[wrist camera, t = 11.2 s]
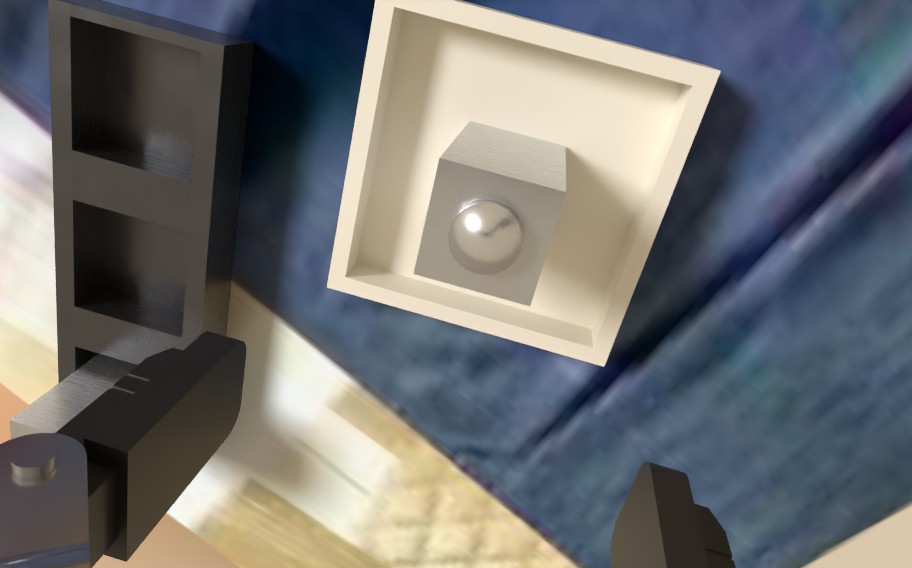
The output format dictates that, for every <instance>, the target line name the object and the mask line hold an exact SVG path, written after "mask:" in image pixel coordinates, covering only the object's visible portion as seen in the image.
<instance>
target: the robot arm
mask: <svg viewBox="0 0 912 568" xmlns="http://www.w3.org/2000/svg"><path fill="white" fill-rule="evenodd" d="M245 359H246V345H245V343H244V342H243V341H240V340H236V339H233V338H230V337H226V336H223V335H219V334H216V333H213V332H209V331H206V332H204V333H203V334H201V335H200V336H199V337H198V338H197V339H196V340H194V341H193V342H192V343H191V344H190V345H189V346H188V347H187V348H185V349H184V350H179V349H176V348H173V347H172V348H170V349H167V350H165V351H162V352H160V353H157V354H155V355H152V356H149V357H147V358H146V359H144V360H143V361H142V362H141V363H139V364H138V365H137V366H136V367H135V368H133V369H132V370H131V371H130V372H129V373H128V375H127V376H124V377H122V378H121V379H120V380H119V381H118V382H116V383H115V384H114V385H113V387H112V389H110V388H109V389H108V390H107V391H105V392H104V393H103V394H102V395H101V396H99V397H98V398H97V399H96V400H94V401H93V402H92V403H91V404H90V405H88V406H87V407H86V408H85V409H83V410H82V411H81V412H80V413H79V414H77V415H76V416H75V417H74V418H73V419H71V420H70V421H69V422H68V423H66V424H65V425H64V426H63V427H62V428H60V429H59V430H58V431H57V432H56V433H35V434H29V435H24V436H20V437H17V438H14V439H11V440H9V441H6V442H4V443H2V444H0V568H92V567H93V566H94V565H95V563H96V562H97V561H98V560H99V559H100V558H101V557H102V555H103V554H104V555H107V556H110V557H113V558H116V559H120V560H123V561H127V560H128V559H129V558H130V557H131V556H132V554H133V553H134V552H135V551H136V549H137V548H138V547H139V546H140V544H141V543H142V542H143V541H144V540H145V538H146V537H147V536H148V534H149V533H150V532H151V531H152V530H153V528H154V527H155V526H156V525H157V523H158V522H159V521H160V520H161V518H162V517H163V516H164V515H165V513H166V512H167V511H168V510H169V509H170V507H171V506H172V505H173V504H174V502H175V501H176V500H177V499H178V497H179V496H180V495H181V494H182V492H183V491H184V490H185V489H186V487H187V486H188V485H189V484H190V482H191V481H192V480H193V479H194V478H195V476H196V475H197V474H198V473H199V471H200V470H201V469H202V468H203V466H204V465H205V464H206V463H207V461H208V460H209V459H210V458H211V456H212V455H213V454H214V453H215V452H216V450H217V449H218V448H219V447H220V445H221V444H222V443H223V442H224V440H225V439H226V438H227V437H228V435H229V434H230V432H231V431H232V429H233V427H234V425H235V422H236V420H237V417H238V414H239V411H240V406H241V397H242V387H243V378H244V368H245ZM611 568H735V564H734V561H733V560H732V553H731V550H730V546H729V543H728V539H727V536H726V532H725V531H724V529H723V528H722V526H721V525H720V524H719V522H718V521H717V519H716V518H715V517H714V515H713V514H712V512H711V511H710V509H709V508H707V507H703V506H700V505H697V504H694V501H693V497H692V493H691V488H690V484H689V480H688V477H687V475H686V473H684V472H680V471H677V470H674V469H670V468H667V467H663V466H660V465H657V464H653V463H650V462H644V463H643V464H642V466H641V467H640V469H639V471H638V474H637V476H636V478H635V480H634V483H633V485H632V487H631V489H630V491H629V494H628V496H627V498H626V500H625V503H624V505H623V507H622V509H621V512H620V514H619V516H618V518H617V521H616V524H615V527H614V531H613V535H612V541H611Z"/></svg>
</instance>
